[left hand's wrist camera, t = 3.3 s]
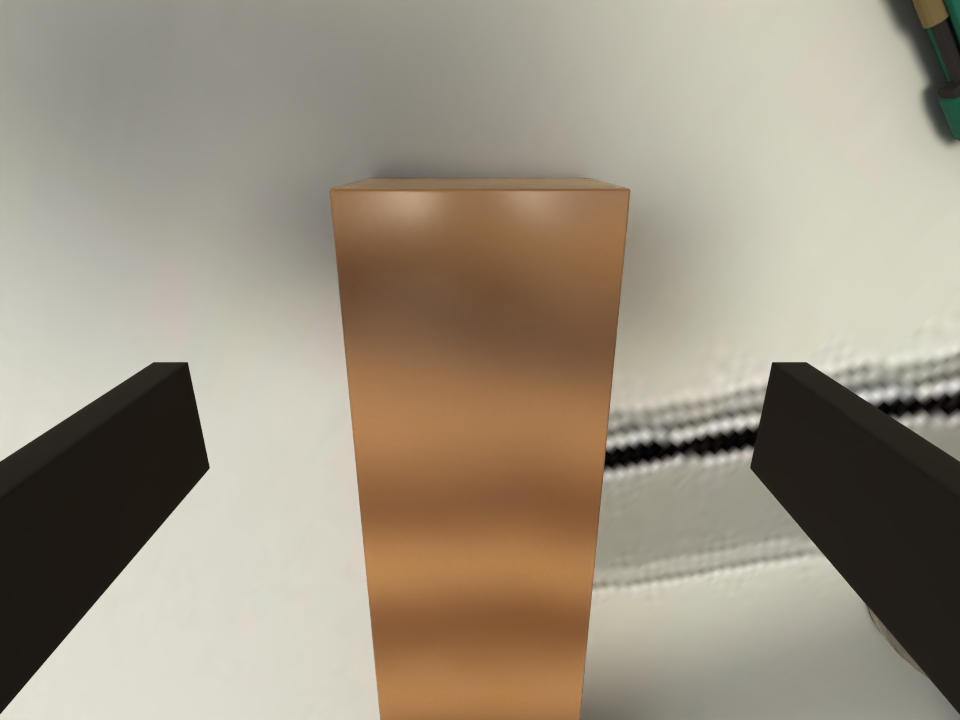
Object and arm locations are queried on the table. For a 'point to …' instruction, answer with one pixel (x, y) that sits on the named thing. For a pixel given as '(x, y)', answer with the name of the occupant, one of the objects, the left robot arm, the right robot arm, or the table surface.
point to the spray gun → (945, 52)
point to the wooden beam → (480, 431)
